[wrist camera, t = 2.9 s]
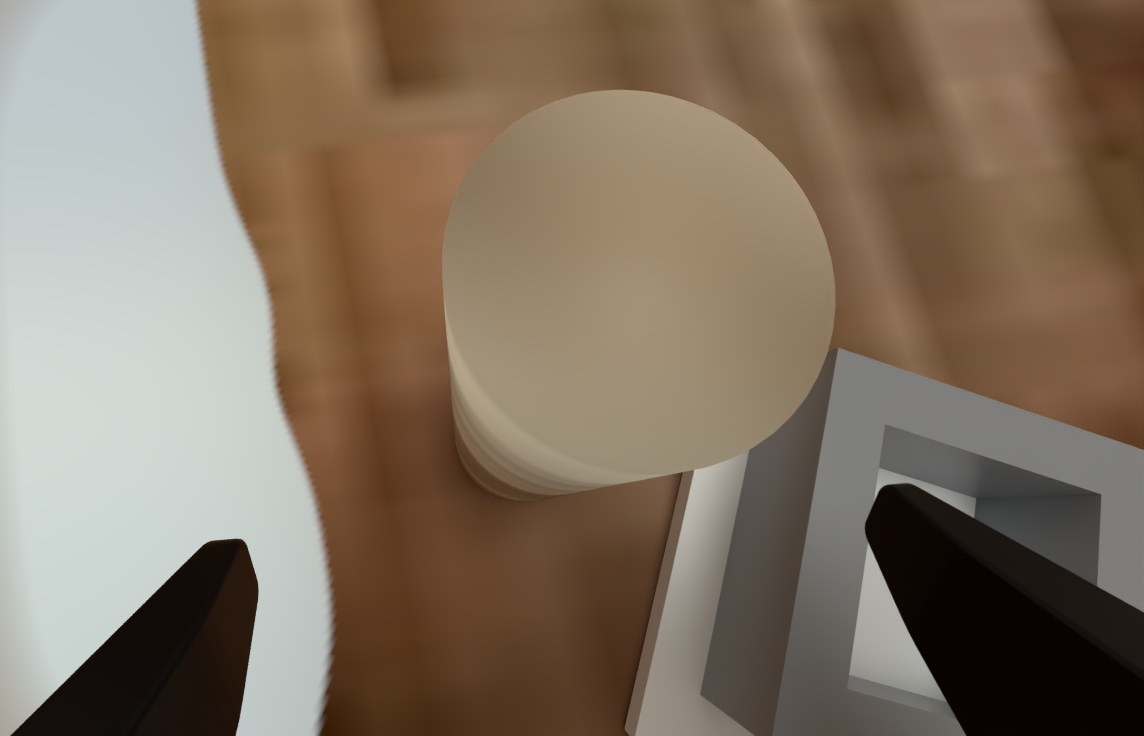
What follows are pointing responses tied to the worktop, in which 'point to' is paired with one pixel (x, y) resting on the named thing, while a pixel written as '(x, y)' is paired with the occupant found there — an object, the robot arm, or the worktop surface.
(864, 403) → the socket
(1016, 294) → the worktop surface
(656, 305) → the peg
